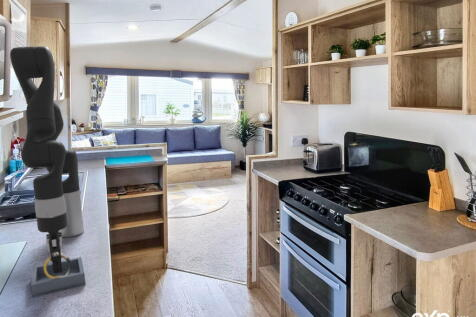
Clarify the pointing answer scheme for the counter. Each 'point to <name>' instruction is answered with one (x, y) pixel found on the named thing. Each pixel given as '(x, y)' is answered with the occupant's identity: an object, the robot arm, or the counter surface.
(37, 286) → the dish
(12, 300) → the counter surface
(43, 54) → the robot arm
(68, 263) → the ring
